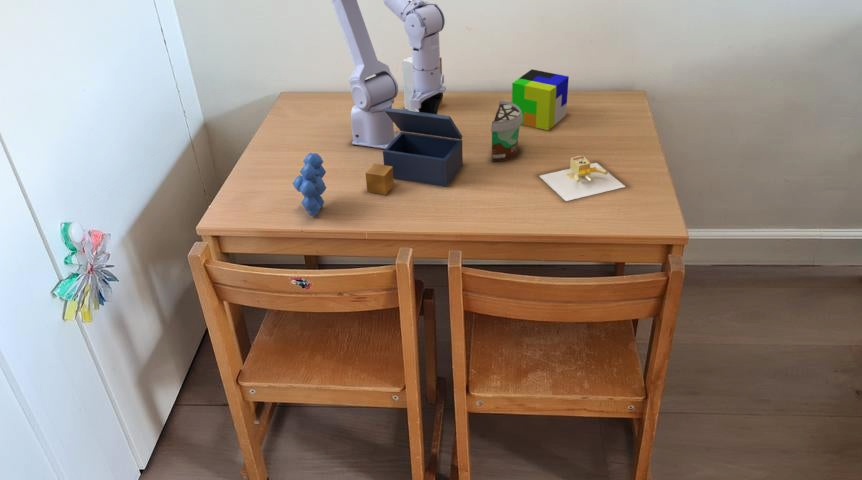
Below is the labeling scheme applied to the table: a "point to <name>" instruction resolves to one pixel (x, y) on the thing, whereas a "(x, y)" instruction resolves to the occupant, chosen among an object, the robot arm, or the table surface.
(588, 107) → the table surface
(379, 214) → the table surface
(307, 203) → the grapes
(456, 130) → the lid
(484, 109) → the table surface
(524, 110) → the puzzle toy
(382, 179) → the block
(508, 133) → the food container
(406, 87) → the small box
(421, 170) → the toy box
